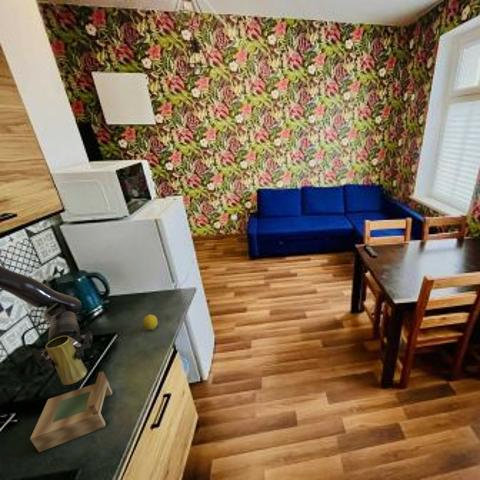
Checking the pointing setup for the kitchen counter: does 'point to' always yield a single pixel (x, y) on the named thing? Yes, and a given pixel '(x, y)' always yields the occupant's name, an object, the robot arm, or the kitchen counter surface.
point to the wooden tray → (71, 415)
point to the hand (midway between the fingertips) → (65, 362)
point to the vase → (66, 360)
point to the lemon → (150, 322)
